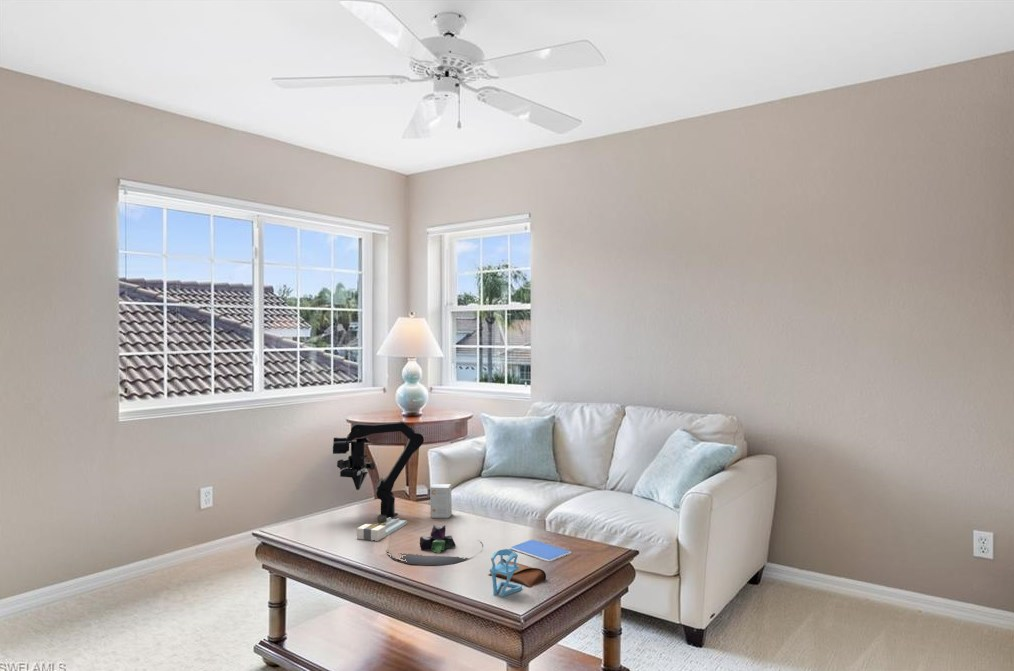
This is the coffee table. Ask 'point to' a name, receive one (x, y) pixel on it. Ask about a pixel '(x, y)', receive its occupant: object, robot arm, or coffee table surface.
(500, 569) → the chair
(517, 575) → the sunglasses case
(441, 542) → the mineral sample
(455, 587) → the coffee table surface
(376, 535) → the door and jamb
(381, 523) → the bolt
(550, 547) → the tablet computer
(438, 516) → the small box
